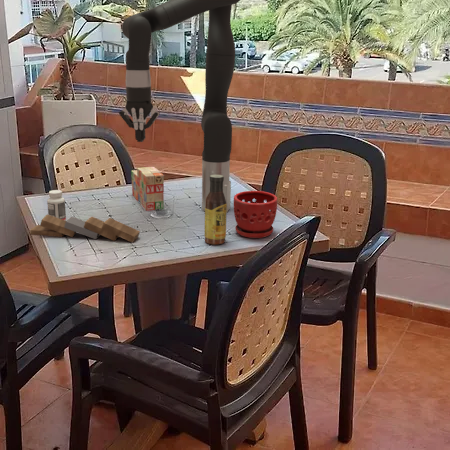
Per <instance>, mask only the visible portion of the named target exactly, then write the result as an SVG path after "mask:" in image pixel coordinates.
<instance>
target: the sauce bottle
mask: <svg viewBox="0 0 450 450" xmlns="http://www.w3.org/2000/svg"><path fill="white" fill-rule="evenodd" d="M223 181H224V176H223V175H210V192H209V194H208V196H207V197H206V207H205V211H204V235H203V236H204V241H205V243H206V244H208V245H212V246H214V245H215V246H216V245H222V244H224V243H225V241H226V236H227V232H226V231H227V213H228V212H227V202H226V199H225V196H224V193H223Z"/></svg>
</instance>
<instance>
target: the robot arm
mask: <svg viewBox="0 0 450 450" xmlns="http://www.w3.org/2000/svg"><path fill="white" fill-rule="evenodd" d="M240 1H241V0H168V1H165V2H163V3H161V4H158V5H156V6H155V7H153V8H150V9H148V10H144V11H141V12H137V13H135V14H132V15H130V16H128V17H126V18H125V19H124V21H123V22H122V25H121V31H122V33H123V35H124V37H125V38H126V39H128V49H127V51H126V52H125V90H126V91H125V93H126V94H125V95H126V97H125V98H126V103H125V107H124V108H123V109H122V110H120V111H119V112H118V114H119V116H120V117H121V119H122V120H123V121H124V123H125V124H126V125H127V126H128V128H132V129H134V133H135V135H134V137H135V140H136V141H137V142H138V143H143V142H145V140H146V129H149V128H150V127H151V126H153V124H154V123H155V121H156V120H157V118H158V117H160V114H161V112H160V111H157V109H155V108H154V105H153V103H152V81H151V80H152V79H151V78H152V77H151V71H150V50H151V43H152V42H151V41H152V34H153V33H155V32H157V31H163V30H166V29H167V30H168V29H169V28H171V27H173V26H176V25H178V24H181V23H183V22H184V21H187V20H189V19H191V18H194V17H195V16H198V15H200V14H203V13H205V12H208V30H207V41H206V42H207V43H206V52H205V53H206V54H205V75H204V76H205V81H204V83H205V86H204V87H205V93H204V94H205V97H204V98H205V99H204V102H203V103H204V104H203V109H202V116H201V119H200V120H201V122H200V127H201V130H202V132H203V148H202V153H201V159H202V160H201V161H202V162H201V209H202V211H203V212H205V207H206V197H207V196H208V194H209V192H210V175H223V176H224V181H223V193H224V196H225V199H226V202H227V213H228V212H229V210H230V209H231V200H232V199H231V195H232V192H231V191H232V188H231V187H232V182H231V180H230V175H231V174H230V173H231V172H230V167H231V164H230V163H231V153H232V147H233V146H232V142H233V124H232V121H231V119H230V118H229V116H228V96H229V95H228V94H229V89H230V86H231V83H232V81H233V76H234V71H235V63H236V61H235V60H236V45H235V39H234V36H233V30H232V26H231V25H232V24H231V19H232V18H231V16H232V7H233V5H235V4H238V3H239V2H240ZM129 115H130V116H129ZM149 115H150V118H149V120H147V118H148V117H149Z"/></svg>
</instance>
